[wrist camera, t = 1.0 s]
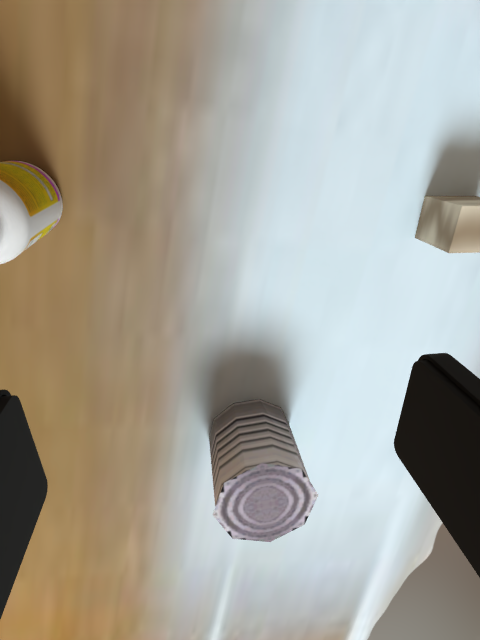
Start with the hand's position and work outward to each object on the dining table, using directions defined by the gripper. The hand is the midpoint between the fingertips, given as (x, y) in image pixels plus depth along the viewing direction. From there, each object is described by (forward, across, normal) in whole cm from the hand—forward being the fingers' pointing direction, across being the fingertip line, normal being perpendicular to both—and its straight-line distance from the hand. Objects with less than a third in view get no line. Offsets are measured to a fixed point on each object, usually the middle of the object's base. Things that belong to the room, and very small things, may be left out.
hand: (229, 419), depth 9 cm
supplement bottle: (+31, +15, -1) cm, 35 cm away
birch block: (+31, -28, +2) cm, 42 cm away
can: (+32, -6, +31) cm, 44 cm away
